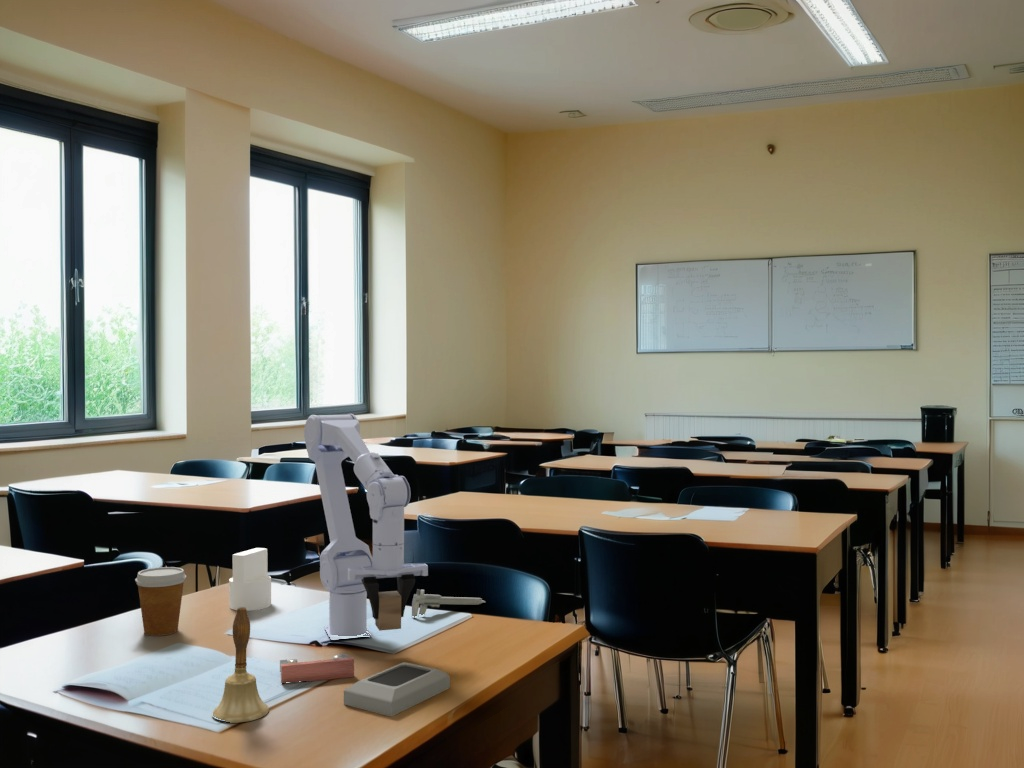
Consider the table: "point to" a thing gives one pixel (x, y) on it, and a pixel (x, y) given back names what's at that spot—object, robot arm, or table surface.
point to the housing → (317, 669)
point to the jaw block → (389, 611)
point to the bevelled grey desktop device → (396, 688)
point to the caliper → (438, 601)
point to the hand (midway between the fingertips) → (387, 616)
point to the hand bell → (240, 681)
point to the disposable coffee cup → (160, 599)
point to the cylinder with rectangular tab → (250, 580)
